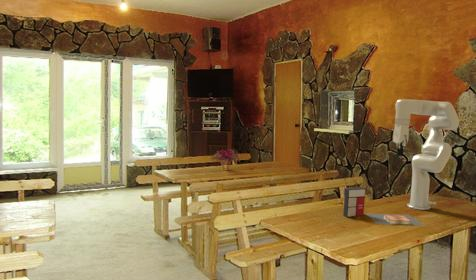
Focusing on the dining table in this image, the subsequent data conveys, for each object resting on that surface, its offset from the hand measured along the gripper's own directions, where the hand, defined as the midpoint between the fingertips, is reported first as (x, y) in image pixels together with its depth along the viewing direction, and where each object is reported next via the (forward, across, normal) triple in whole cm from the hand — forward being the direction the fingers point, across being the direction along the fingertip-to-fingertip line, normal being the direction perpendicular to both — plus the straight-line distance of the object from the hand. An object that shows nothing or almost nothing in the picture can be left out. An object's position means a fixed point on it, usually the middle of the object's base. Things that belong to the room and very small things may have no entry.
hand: (399, 155), depth 228 cm
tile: (+30, +15, -7) cm, 35 cm away
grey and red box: (+32, +9, -26) cm, 42 cm away
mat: (+32, +16, -7) cm, 36 cm away
